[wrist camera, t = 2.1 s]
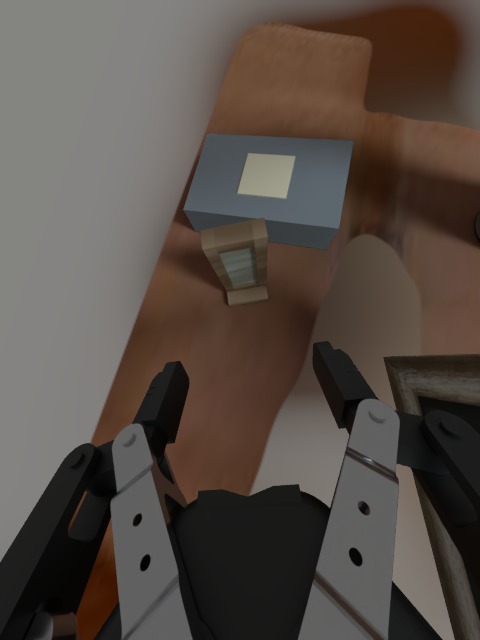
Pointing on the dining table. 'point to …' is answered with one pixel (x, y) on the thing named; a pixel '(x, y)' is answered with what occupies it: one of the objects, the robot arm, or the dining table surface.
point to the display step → (272, 186)
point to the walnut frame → (239, 259)
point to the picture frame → (416, 398)
